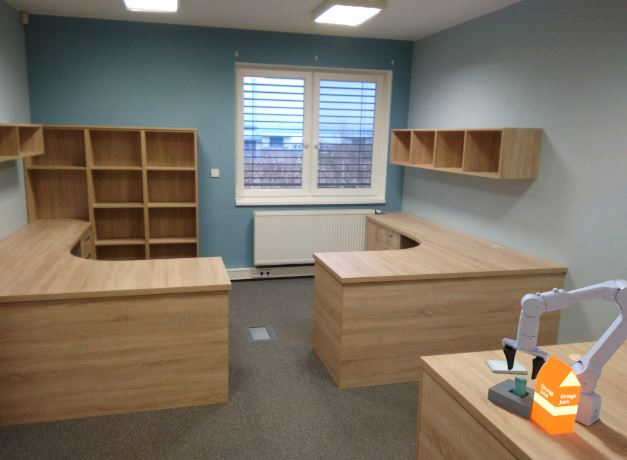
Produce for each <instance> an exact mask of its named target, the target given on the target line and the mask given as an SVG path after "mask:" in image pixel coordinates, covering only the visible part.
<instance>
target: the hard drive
mask: <svg viewBox="0 0 627 460" xmlns="http://www.w3.org/2000/svg"><path fill="white" fill-rule="evenodd" d="M484 363H485V364H486V366H487V367H488V368H489V369H490V371H491V373H497V374H498V373H500V374H501V373H502V374H523V375H524V374H525V375H526V374H528V370H527V369H526V368H525V367H524V366H523V365H522V364H521V362H519V361H517V360H514V366H513V369H511V370H508V366H507V360H498V359H497V360H495V359H485V360H484Z"/></svg>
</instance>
